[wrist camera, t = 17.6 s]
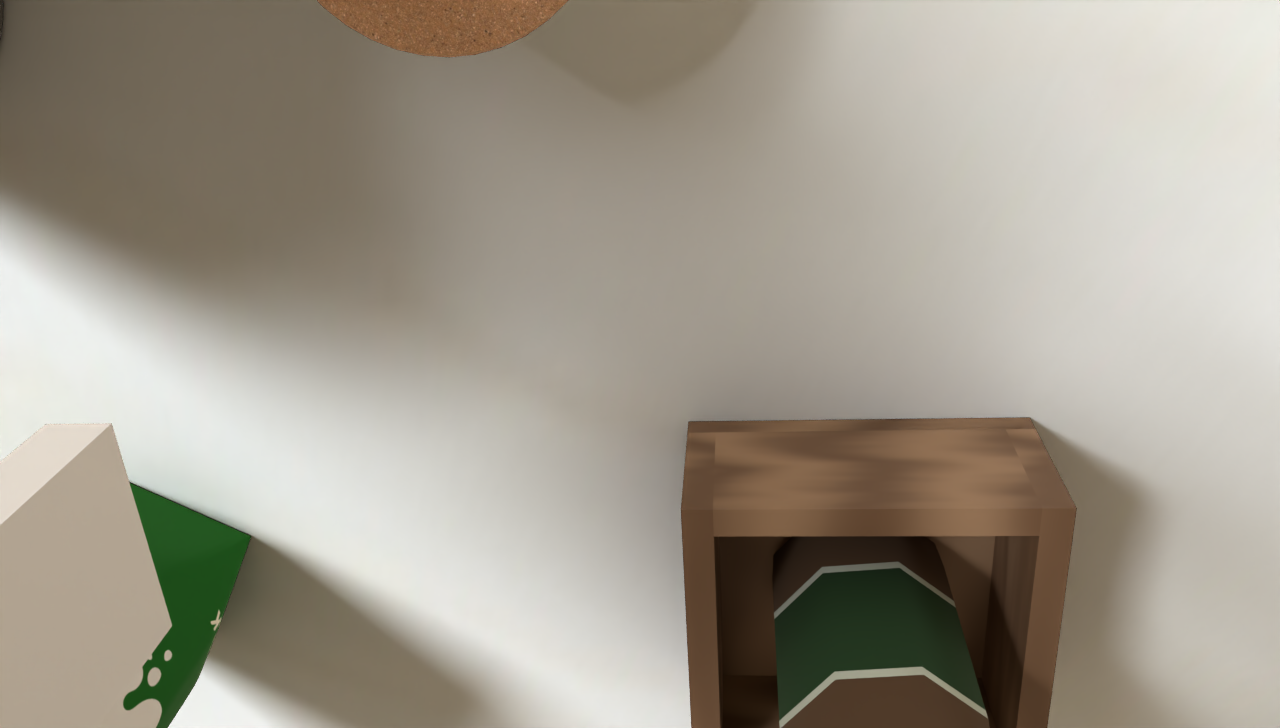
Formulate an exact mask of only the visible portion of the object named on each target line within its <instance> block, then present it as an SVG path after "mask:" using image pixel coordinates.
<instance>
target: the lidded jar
mask: <svg viewBox="0 0 1280 728" xmlns="http://www.w3.org/2000/svg"><path fill="white" fill-rule="evenodd" d="M317 1H318V2H319V3H320V4H321V5H322V6H323V7H324V8H325V9H326V10H327V11H329V12H330V13H331V14H333V15H334V16H335V17H336V18H338V19H339V20H340V21H341V22H343V23H344V24H345V25H347V26H348V27H350V28H352V29H354V30H355V31H357V32H359V33H360V34H362V35H364V36H366V37H367V38H369V39H371V40H373V41H376V42H378V43H381V44H383V45H386V46H389V47H391V48H394V49H396V50H400V51H405V52H409V53H414V54H418V55H422V56H438V57H457V56H466V55H476V54H479V53H483V52H487V51H490V50H494V49H498V48H501V47H503V46H505V45H507V44H510V43H512V42H514V41H516V40H518V39H520V38H522V37H525V36H526V35H528V34H529V33H530V32H532V31H533V30H535V29H536V28H538V27H539V26H541V25H542V24H543V23H545V22H546V21H548V20H549V19H550V18H551V17H552V16H553V15H554V14H555V13H556V12H557V11H558V10H559V9H560V8H561V7H562V6H563V5H564V4H565V3H566V2H567V1H568V0H317Z"/></svg>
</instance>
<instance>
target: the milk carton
mask: <svg viewBox="0 0 1280 728" xmlns="http://www.w3.org/2000/svg"><path fill="white" fill-rule="evenodd" d="M130 486H131V490H132V493H133V496H134V500H135V503H136V506H137V510H138V513H139V516H140V520H141V523H142V526H143V530H144V533H145V536H146V540H147V543H148V546H149V550H150V553H151V556H152V560H153V563H154V566H155V570H156V573H157V576H158V580H159V583H160V586H161V590H162V593H163V596H164V600H165V603H166V606H167V610H168V613H169V616H170V620H171V623H172V627H171V628H170V629H169V631H168V632H167V634H166V635H165V636H164V638H163V639H162V640H161V642H160V643H159V645H158V646H157V647H156V649H155V650H154V651H153V653H152V654H151V655H150V657H149V658H148V660H147V661H146V662H145V664H144V665H143V666H142V668H141V669H140V671H139V672H138V673H137V675H136V676H135V677H134V679H133V680H132V682H131V683H130V684H129V686H128V687H127V688H126V690H125V691H124V692H123V694H122V695H121V697H120V698H119V699H118V701H117V702H116V703H115V705H114V706H113V708H112V709H111V710H110V712H109V713H108V714H107V716H106V717H105V719H104V720H103V721H102V723H101V724H100V725H99V727H98V728H168V726H169V725H170V723H171V722H172V720H173V719H174V717H175V716H176V714H177V712H178V711H179V709H180V708H181V706H182V705H183V703H184V702H185V700H186V698H187V697H188V695H189V694H190V692H191V690H192V689H193V687H194V686H195V684H196V682H197V680H198V678H199V676H200V673H201V671H202V668H203V666H204V663H205V661H206V658H207V656H208V654H209V651H210V649H211V646H212V644H213V641H214V639H215V636H216V634H217V631H218V628H219V625H220V623H221V620H222V617H223V614H224V612H225V609H226V606H227V603H228V600H229V598H230V595H231V592H232V589H233V586H234V584H235V581H236V578H237V575H238V572H239V569H240V567H241V564H242V561H243V558H244V555H245V553H246V550H247V547H248V544H249V541H250V538H251V536H249V535H247V534H245V533H242V532H240V531H238V530H236V529H233V528H231V527H229V526H227V525H224V524H222V523H220V522H217V521H215V520H213V519H211V518H208V517H206V516H204V515H202V514H199V513H197V512H195V511H192V510H190V509H188V508H186V507H183V506H181V505H179V504H177V503H174V502H172V501H170V500H167V499H165V498H163V497H161V496H158V495H156V494H154V493H152V492H149V491H147V490H145V489H142V488H140V487H138V486H136V485H133V484H131V483H130Z"/></svg>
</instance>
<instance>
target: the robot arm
mask: <svg viewBox="0 0 1280 728" xmlns="http://www.w3.org/2000/svg"><path fill="white" fill-rule="evenodd" d="M2 22H3V0H0V39H1V32H2ZM171 627H172V623H171V620H170V616H169V613H168V610H167V606H166V603H165V600H164V596H163V593H162V590H161V586H160V583H159V580H158V576H157V573H156V570H155V566H154V563H153V560H152V556H151V553H150V550H149V546H148V543H147V540H146V536H145V533H144V530H143V526H142V523H141V520H140V516H139V513H138V510H137V506H136V503H135V500H134V496H133V493H132V490H131V486H130V483H129V480H128V476H127V473H126V470H125V466H124V463H123V460H122V456H121V453H120V450H119V446H118V443H117V440H116V436H115V433H114V430H113V426H112V423H102V424H45V425H44V426H43V427H42V428H40V429H39V430H38V431H37V432H36V433H34V434H33V435H32V436H31V437H30V438H28V439H27V440H26V441H25V442H23V443H22V444H21V445H20V446H19V447H17V448H16V449H15V450H14V451H13V452H11V453H10V454H9V455H8V456H7V457H5V458H4V459H3V460H2V461H1V462H0V728H98V727H99V725H100V724H101V723H102V721H103V720H104V719H105V717H106V716H107V714H108V713H109V712H110V710H111V709H112V708H113V706H114V705H115V703H116V702H117V701H118V699H119V698H120V697H121V695H122V694H123V692H124V691H125V690H126V688H127V687H128V686H129V684H130V683H131V682H132V680H133V679H134V677H135V676H136V675H137V673H138V672H139V671H140V669H141V668H142V666H143V665H144V664H145V662H146V661H147V660H148V658H149V657H150V655H151V654H152V653H153V651H154V650H155V649H156V647H157V646H158V645H159V643H160V642H161V640H162V639H163V638H164V636H165V635H166V634H167V632H168V631H169V629H170V628H171Z"/></svg>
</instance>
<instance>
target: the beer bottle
mask: <svg viewBox="0 0 1280 728" xmlns="http://www.w3.org/2000/svg"><path fill="white" fill-rule="evenodd" d="M772 582H773V603H774V623H775V644H776V664H777V685H778V705H779V726H780V728H990V727H989V721H988V717H987V713H986V710H985V706H984V703H983V700H982V696H981V693H980V689H979V686H978V682H977V679H976V675H975V672H974V668H973V665H972V662H971V658H970V655H969V651H968V648H967V644H966V641H965V637H964V634H963V630H962V627H961V624H960V620H959V617H958V613H957V610H956V606H955V603H954V599H953V596H952V592H951V589H950V585H949V582H948V579H947V575H946V572H945V568H944V565H943V563H942V560H941V558H940V555H939V553H938V550H937V548H936V545H935V543H934V542H932V541H931V540H929V539H928V538H927V537H925V536H792V537H791V538H790V539H789V540H788V541H787V542H786V543H785V544H784V545H783V546H782V547H781V548H780V549H779V550H778V551H777V552H776V553H775V554H774V555H773V575H772Z"/></svg>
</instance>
